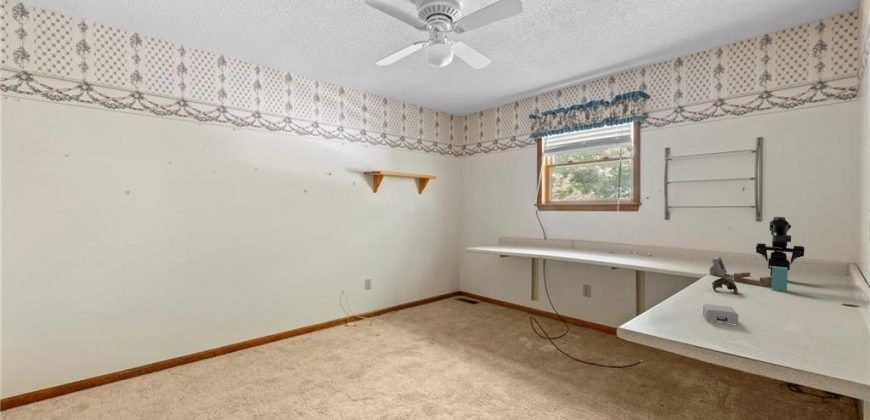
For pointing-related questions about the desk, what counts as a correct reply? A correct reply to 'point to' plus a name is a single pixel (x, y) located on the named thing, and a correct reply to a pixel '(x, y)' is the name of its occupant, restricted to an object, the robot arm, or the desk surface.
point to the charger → (720, 314)
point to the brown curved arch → (727, 282)
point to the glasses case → (779, 278)
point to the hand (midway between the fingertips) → (778, 262)
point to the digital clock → (718, 267)
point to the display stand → (752, 279)
